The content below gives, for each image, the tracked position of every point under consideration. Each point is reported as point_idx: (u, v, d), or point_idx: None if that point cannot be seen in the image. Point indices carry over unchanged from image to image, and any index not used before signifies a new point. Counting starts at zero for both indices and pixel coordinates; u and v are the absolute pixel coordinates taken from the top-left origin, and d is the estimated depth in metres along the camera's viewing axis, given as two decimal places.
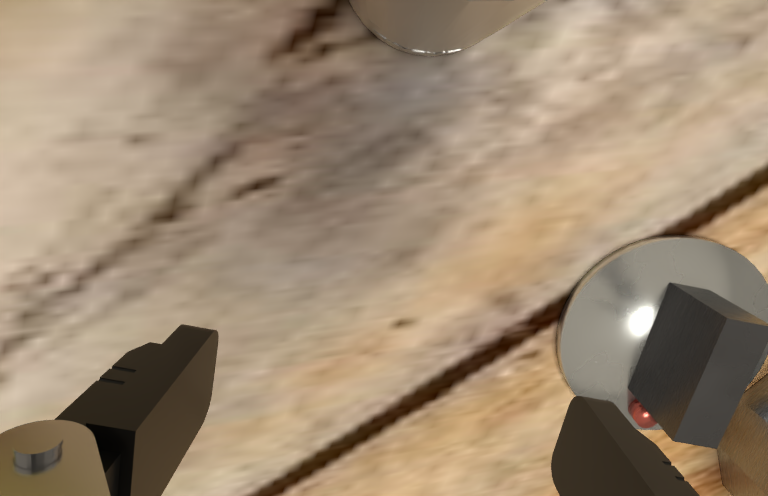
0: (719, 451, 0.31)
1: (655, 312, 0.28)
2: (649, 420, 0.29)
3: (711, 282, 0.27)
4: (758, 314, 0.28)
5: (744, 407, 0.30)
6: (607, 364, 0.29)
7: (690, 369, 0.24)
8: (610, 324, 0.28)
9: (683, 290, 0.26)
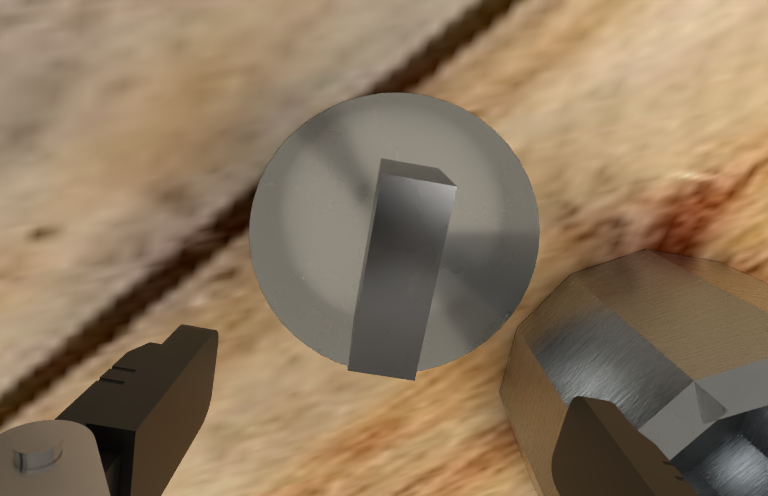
0: (503, 402, 0.24)
1: (370, 203, 0.20)
2: None
3: (439, 157, 0.20)
4: (513, 203, 0.20)
5: (520, 338, 0.22)
6: (320, 282, 0.21)
7: (365, 264, 0.17)
8: (311, 223, 0.20)
9: (382, 161, 0.19)
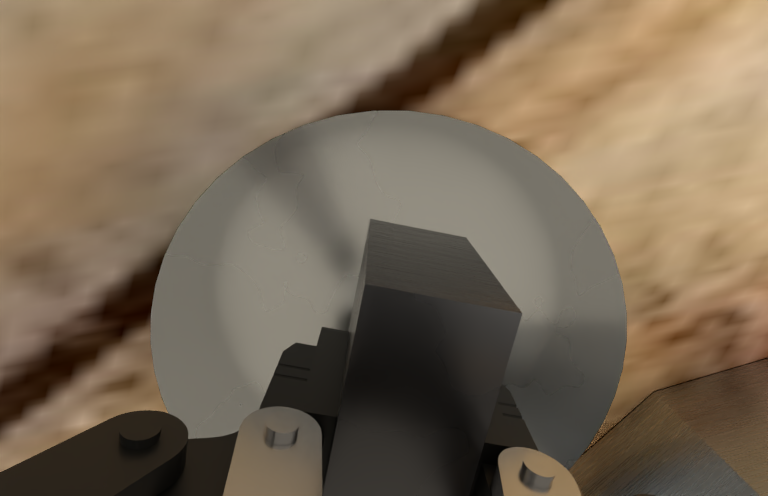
0: None
1: (350, 291, 0.12)
2: None
3: (467, 219, 0.12)
4: (586, 295, 0.12)
5: None
6: None
7: None
8: (253, 320, 0.12)
9: (371, 230, 0.11)
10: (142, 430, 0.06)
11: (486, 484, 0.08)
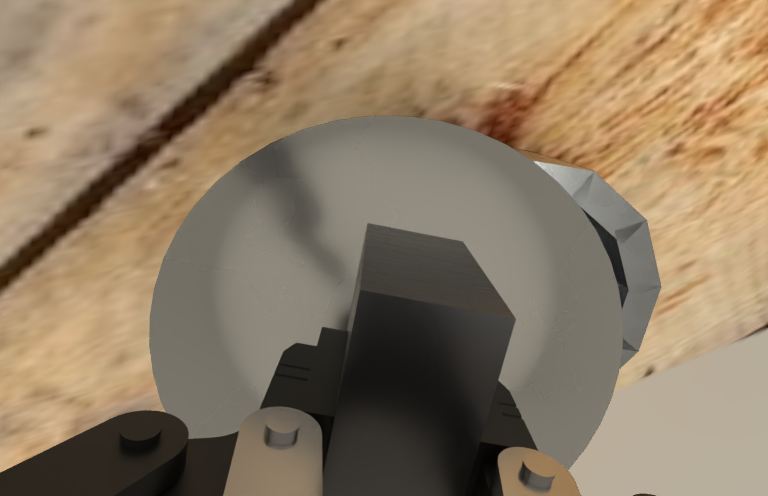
0: None
1: (348, 295, 0.12)
2: None
3: (464, 223, 0.12)
4: (582, 299, 0.12)
5: None
6: None
7: None
8: (251, 323, 0.12)
9: (368, 235, 0.11)
10: (141, 431, 0.06)
11: (486, 484, 0.08)
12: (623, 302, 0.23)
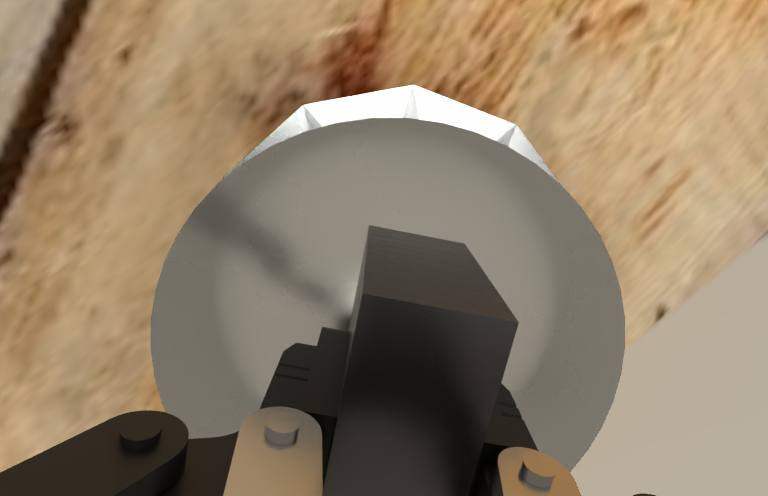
0: None
1: (349, 297, 0.12)
2: None
3: (466, 225, 0.12)
4: (584, 301, 0.12)
5: None
6: None
7: None
8: (253, 325, 0.12)
9: (370, 237, 0.11)
10: (142, 431, 0.06)
11: (486, 484, 0.08)
12: None
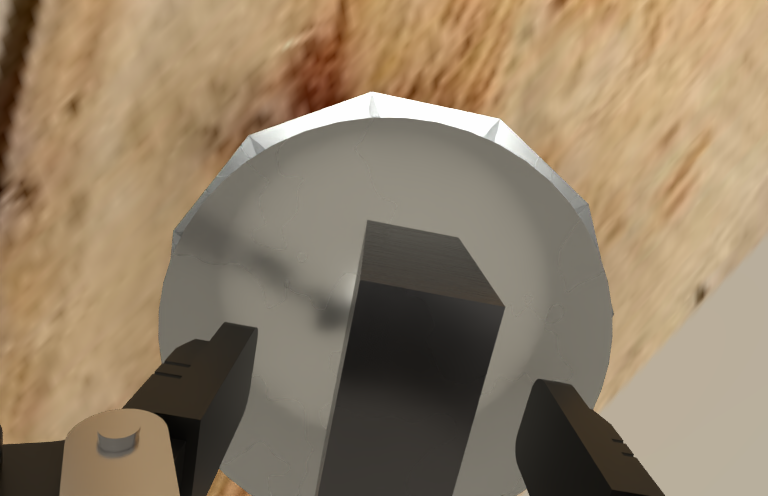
0: None
1: (348, 289, 0.13)
2: None
3: (460, 220, 0.12)
4: (573, 292, 0.13)
5: None
6: (270, 403, 0.14)
7: (330, 425, 0.09)
8: (256, 316, 0.13)
9: (368, 231, 0.11)
10: None
11: None
12: None
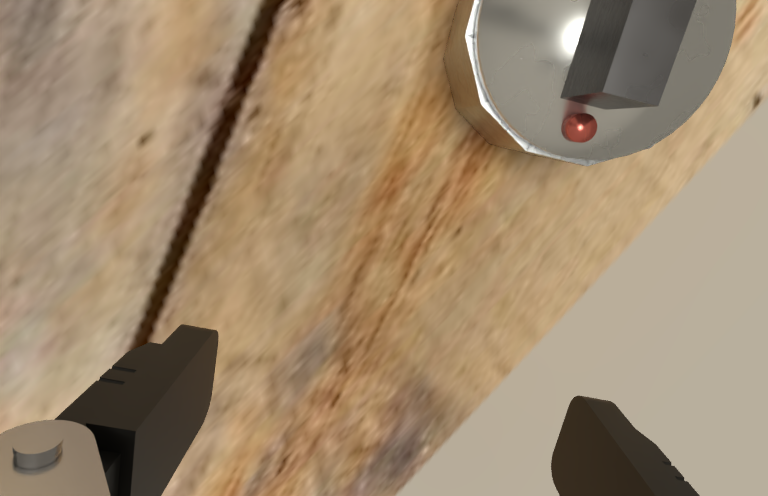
0: None
1: None
2: (584, 131, 0.24)
3: None
4: None
5: (445, 60, 0.33)
6: (535, 63, 0.24)
7: None
8: (537, 4, 0.23)
9: None
10: None
11: None
12: None
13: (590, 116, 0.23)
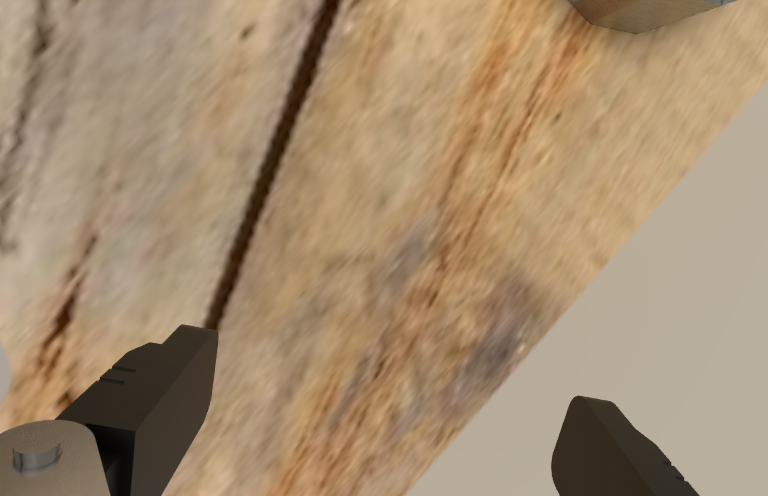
0: None
1: None
2: None
3: None
4: None
5: None
6: None
7: None
8: None
9: None
10: None
11: None
12: None
13: None
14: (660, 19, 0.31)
